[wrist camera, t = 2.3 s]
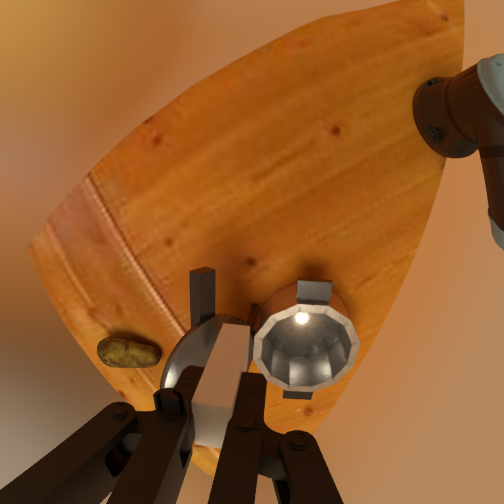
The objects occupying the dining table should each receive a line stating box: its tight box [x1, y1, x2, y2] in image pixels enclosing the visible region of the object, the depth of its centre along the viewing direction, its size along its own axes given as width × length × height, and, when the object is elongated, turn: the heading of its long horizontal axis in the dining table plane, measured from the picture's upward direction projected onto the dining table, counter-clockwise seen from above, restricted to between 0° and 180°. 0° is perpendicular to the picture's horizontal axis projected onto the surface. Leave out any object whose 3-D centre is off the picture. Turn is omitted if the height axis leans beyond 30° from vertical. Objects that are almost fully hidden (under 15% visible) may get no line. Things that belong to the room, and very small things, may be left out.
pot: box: [247, 278, 360, 400], centre depth 46 cm, size 17×22×9 cm
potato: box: [97, 337, 161, 368], centre depth 52 cm, size 8×13×8 cm, turn 64°
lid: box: [160, 267, 254, 389], centre depth 35 cm, size 17×22×3 cm
